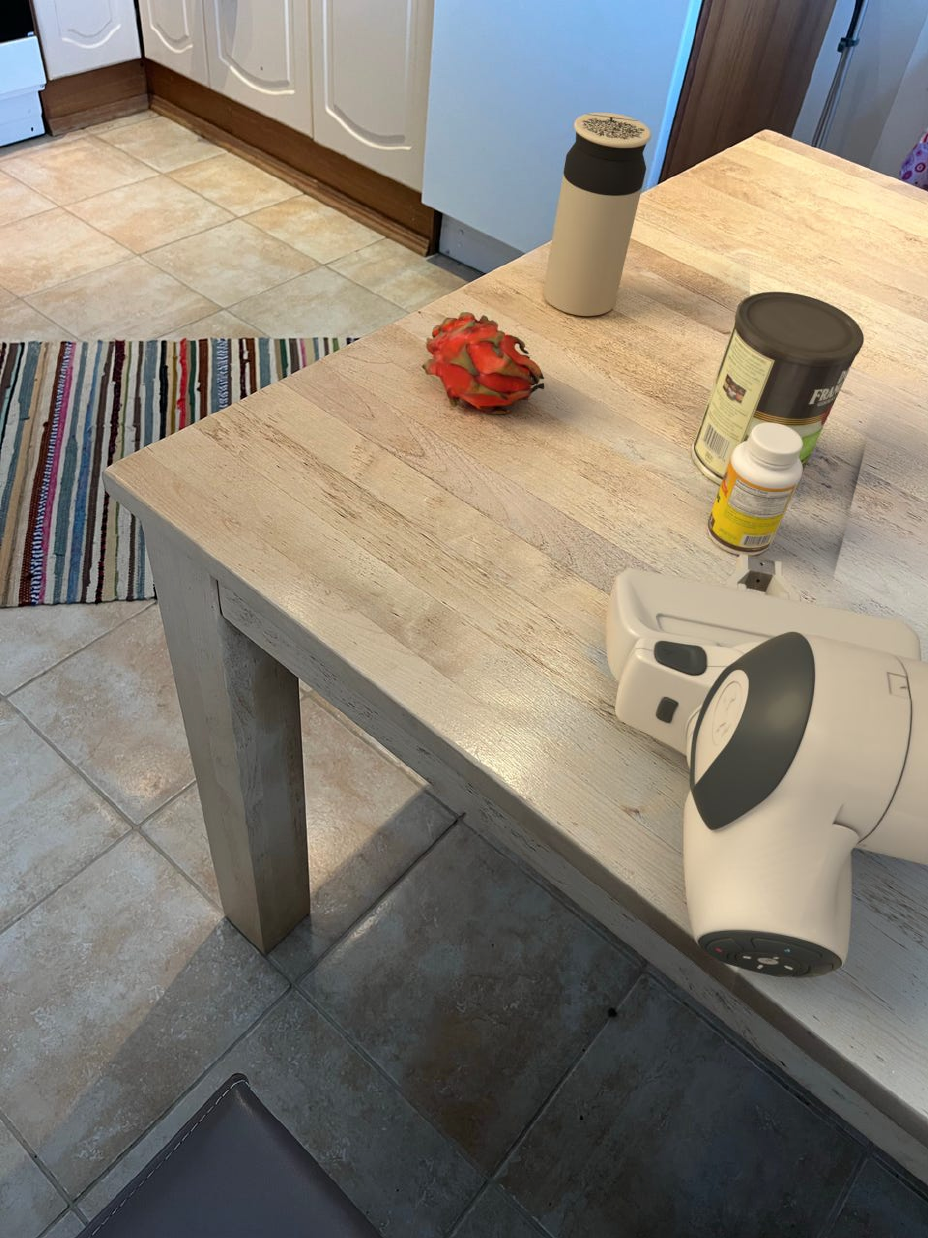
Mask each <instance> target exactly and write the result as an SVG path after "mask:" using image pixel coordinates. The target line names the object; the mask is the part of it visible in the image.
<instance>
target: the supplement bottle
mask: <svg viewBox="0 0 928 1238" xmlns="http://www.w3.org/2000/svg"><path fill="white" fill-rule="evenodd" d="M802 446H803V441H802V439H801V437H800V436H799V434H798V433H796V432H795V431H794V430H792V429H791V428H789V427H787V426H784V425H781V424H778V423H761V424H758V425H756V426H755V427H754V428H753V429H752V431H751V434H750V436H749V438H748V440H747V441H745V442H743V443H741V444H739V445H738V446H737V447H736V448H735V449H734V451H733V453H732V455H731V458H730V461H729V464H728V466H727V469H726V472H725V474H724V477H723V480H722V483H721V486H720V485H719V489H718V491H717V494H716V497H715V500H714V502H713V505H712V508H711V510H710V513H709V516H708V519H707V523H706V529H707V533H708V535H709V538H710V539H711V540H712V541H713V543H714V544H715V545H716V546H718V547H719V548H720V549H722V550H724V551H726V552H728V553H731V554H733V555H737V556H740V554H744V555H749V556H756V555H760V554H762V553H764V552H765V551H767V550H768V549H769V548H770V547H771V545H772V544H773V542H774V539H775V537H776V535H777V532H778V531H779V528H780V525H781V523H782V522H783V519H784V517H785V514H786V513H787V511H788V507H789V506H790V503H791V501H792V498H793V497H794V494H795V492H796V489H797V487H798V485H799V484H800V482H801V480H800V478H801V479H802V477H803V473H802V472H804V470H803V467H802V463H801V461H800V459H799V454H800V451H801V449H802ZM801 476H802V477H801ZM799 481H800V482H799Z"/></svg>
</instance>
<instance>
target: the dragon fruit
mask: <svg viewBox="0 0 928 1238" xmlns="http://www.w3.org/2000/svg"><path fill="white" fill-rule="evenodd" d="M498 328H499V324H498V323H497V321H494V320H493V319H492V320H489V318H488V316H487V315H484V314H483V315H482V316H481V317H480V319H479V320H478V319H477V318H476V316H475V315H474V313H472V312H469V311H463V312H460V314H459V316H458V318H456V317H446V318H445V319H444V320H443V321H442V323H439V324H436V325H435V326H434V327H433V329H432V331H431V336H432V338H431V337H427V338H426V342H425V348H426V351H427V352H428V353H430V354H431V355H432V358H430V359H427V360H426V361H425V362H424V363H423V364H422V365H421V368H422V369H423V370H424V372H425V375H428V376H435V377H439V379H440V380H441V382H442V385H443V387H444V389H445V392H446V395H447V398H448V401H449V403H450V405H451V406H452V407H457V406H459V405H460V404H461V400H464V401H466V402H467V403H469V404H471V405H472V406H473V407H475V408H476V409H477V410H479V411H481V412H482V411H483V412H485V414H487V415H503V414H508V413H512V411H511V410H510V409H507V408H505V407H503V406H509V405H511V404H512V403H513V402H519V401H527V402H528V401H529V399H530V397H531V395H532V394H533V393H535V392H536V391H537V390H538V389H539V390H544V389H545V383H544V382H542V383H540V381H541V380H544V379H545V377H544V375H543V372H542V370H541V367H540V366H539V364H537V363H536V362H535V360H533V359H531V356H529V354H530V353H529V351H528V350H526V349H525V348H526V344H525V343H524V341H523V340H522V339H520V337H518V336H515V335H512V334H506V333H505V331H503V330H498ZM516 345H518V347H519V350H520V351H521V353H523V354H521V353H520V352H519V351H518V350H517V349H516Z"/></svg>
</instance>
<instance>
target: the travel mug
mask: <svg viewBox="0 0 928 1238" xmlns="http://www.w3.org/2000/svg"><path fill="white" fill-rule="evenodd" d="M573 127H574V130H575V142H574V143H573V145H572V146H571V148H570V149H569V150H568V152H567V153H566V156H565V161H564V166H563V172H562V179H561V185H560V191H559V197H558V202H557V208H556V212H555V213H556V214H555V219H554V226H553V232H552V237H551V243H550V249H549V254H548V261H547V267H546V271H545V272H546V273H545V279H544V283H543V284H544V285H543V290H542V294H543V297H544V299H545V301H546V302H548V304H549V305H551V306H552V307H554V308H555V309H557V310H559V311H562V312H564V313H566V314H568V315H569V314H570V315H574V316H578V317H591V316H599V315H604V314H607V313H609V312H610V311H611V310H612V309H613V308H614V307H615V304H616V301H617V297H618V293H619V287H620V284H621V280H622V275H623V272H624V267H625V262H626V258H627V254H628V249H629V245H630V241H631V237H632V232H633V228H634V224H635V219H636V214H637V211H638V206H639V202H640V198H641V194H642V189H643V186H644V180H645V176H646V172H647V164H646V160H645V157H644V151H645V148H646V145H647V144H648V143H649V142H650V141H651V139H652V131H651V129H650V128H649V127H648V126H647V125H646V124H645V123H643V122H641V121H640V120H637V119H635V118H633V117H631V116H627V115H622V114H619V113H613V112H589V113H584V114H582V115H580V116H578V117H577V118H576V119H575V121H574V123H573Z"/></svg>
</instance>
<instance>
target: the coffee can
mask: <svg viewBox="0 0 928 1238" xmlns="http://www.w3.org/2000/svg"><path fill="white" fill-rule="evenodd" d="M864 337H865V336H864V333H863V331H862V328H861V327H860V324H858V323H857V321H855V320H854V319H853V317H852V316H850V315H849V314H848V313H846V312H845V311H843V310H842V309H840V308H838V307H836V306H835V305H832V304H831V303H829V302H825V301H823V300H821V299H819V298H815V297H812V296H809V295H805V294H801V293H794V292H790V291H789V292H788V291H763V292H759V293H754V294H751V295H749V296H746V297H745V298H744V299H743V300H741V301H740V302H739V304H738V305H737V308H736V311H735V314H734V322H733V325H732V327H731V330H730V334H729V336H728V340H727V343H726V346H725V349H724V351H723V355H722V358H721V361H720V364H719V366H718V368H717V373H716V375H715V379H714V382H713V385H712V386H711V391H710V393H709V397H708V400H707V402H706V404H705V405H706V406H705V409H704V411H703V414H702V418H701V420H700V424H699V426H698V428H697V432H696V435H695V437H694V439H693V441H692V443H691V446H690V447H691V451H690V452H691V458H692V461H693V463H694V464H695V466H696V467H697V468H698V470H699V471H700V472H701V473H702V474H703V475H704V476H705V477H706V478H707V479H709V480H711V481H712V482H714V483H715V484H717V485H719V487H720V486H721V483H722V480H723V477H724V474H725V472H726V469H727V466H728V464H729V461H730V458H731V455H732V453H733V451H734V449H735V448H736V447H737V446H738V445H739V444H741V443H743V442H745V441H747V440H748V438H749V436H750V434H751V431H752V429H753V428H754V427H755V426H756V425H758V424H761V423H778V424H781V425H784V426H787V427H789V428H791V429H792V430H794V431H795V432H796V433H798V434H799V436H800V437H801V439H802V441H803V446H802V449H801V451H800V454H799V459H800V461H801V463H802V467H803V472H804V471H805V468H806V466H807V464H808V461H809V459H810V458H811V455H812V453H813V451H814V449H815V446H816V444H817V442H818V440H819V437H820V435H821V433H822V431H823V429H824V427H825V424H826V422H827V420H828V418H829V416H830V414H831V411H832V409H833V406H834V404H835V403H836V400H837V398H838V396H839V394H840V391H841V389H842V387H843V385H844V384H845V381H846V378H847V376H848V374H849V372H850V369H851V367H852V365H853V362H854V361H855V359H856V356H857V355H858V354H859V352H860V351H861V349H862V347H863V345H864V342H865V338H864ZM803 472H802V474H803ZM802 477H803V475H802V476H801V478H800V481H799V483H800V482H801V480H802Z"/></svg>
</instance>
